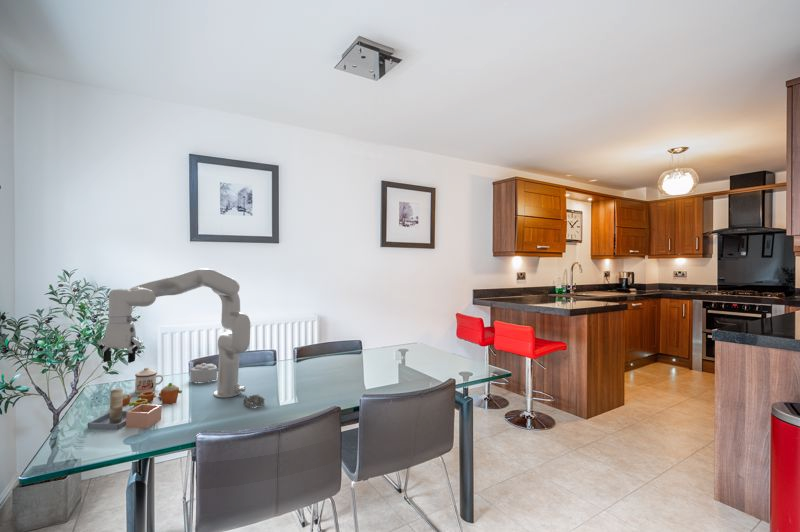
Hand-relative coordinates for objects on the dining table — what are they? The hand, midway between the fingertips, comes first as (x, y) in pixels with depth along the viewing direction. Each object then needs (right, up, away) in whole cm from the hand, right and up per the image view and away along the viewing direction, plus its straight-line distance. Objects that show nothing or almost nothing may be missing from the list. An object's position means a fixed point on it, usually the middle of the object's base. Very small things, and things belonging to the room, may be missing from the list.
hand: (119, 361), depth 152 cm
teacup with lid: (-14, -25, +39) cm, 48 cm away
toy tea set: (-3, -26, +22) cm, 34 cm away
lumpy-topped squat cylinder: (+4, -26, +58) cm, 63 cm away
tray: (-2, -26, 0) cm, 26 cm away
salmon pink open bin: (+10, -26, 0) cm, 28 cm away
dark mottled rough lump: (+44, -28, +28) cm, 59 cm away
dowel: (-1, -25, 0) cm, 25 cm away
